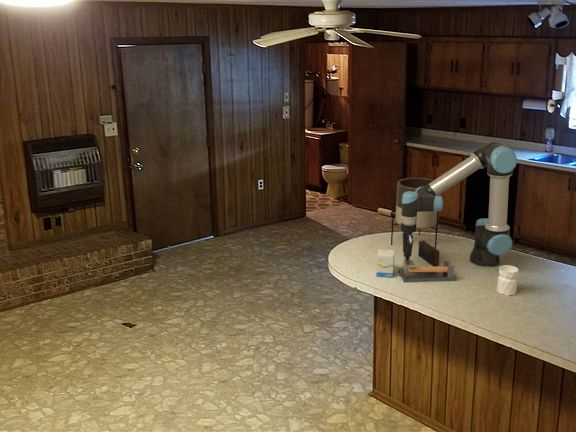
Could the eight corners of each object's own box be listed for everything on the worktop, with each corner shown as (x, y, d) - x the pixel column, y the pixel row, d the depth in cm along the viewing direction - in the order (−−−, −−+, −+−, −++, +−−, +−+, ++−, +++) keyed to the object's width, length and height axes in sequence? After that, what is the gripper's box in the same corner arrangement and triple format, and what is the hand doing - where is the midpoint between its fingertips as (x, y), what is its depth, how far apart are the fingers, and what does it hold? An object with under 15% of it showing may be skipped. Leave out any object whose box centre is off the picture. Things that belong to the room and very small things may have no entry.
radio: (417, 255, 345) (419, 229, 341) (422, 255, 346) (424, 228, 342) (435, 268, 329) (437, 241, 324) (440, 268, 330) (442, 240, 325)
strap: (448, 268, 319) (448, 266, 318) (451, 272, 314) (451, 269, 314) (407, 268, 318) (407, 265, 317) (409, 272, 313) (409, 269, 313)
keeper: (411, 271, 320) (412, 259, 318) (415, 277, 314) (415, 265, 312) (403, 272, 320) (403, 260, 318) (406, 277, 313) (406, 265, 311)
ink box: (393, 278, 318) (394, 256, 314) (376, 276, 320) (376, 255, 316) (394, 271, 326) (394, 249, 322) (377, 270, 328) (378, 248, 324)
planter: (449, 242, 363) (454, 182, 352) (425, 255, 346) (429, 192, 335) (410, 232, 380) (413, 174, 369) (386, 243, 363) (388, 183, 352)
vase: (494, 288, 306) (496, 265, 302) (512, 288, 305) (515, 265, 301) (499, 296, 297) (501, 272, 293) (518, 296, 297) (521, 272, 293)
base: (448, 270, 326) (449, 256, 324) (456, 280, 314) (457, 266, 312) (398, 271, 325) (398, 258, 323) (403, 282, 313) (404, 268, 310)
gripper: (398, 218, 320) (396, 262, 328) (404, 227, 308) (401, 272, 315) (413, 218, 320) (410, 262, 328) (419, 227, 308) (416, 272, 316)
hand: (406, 267), depth 322 cm, fingers closed
